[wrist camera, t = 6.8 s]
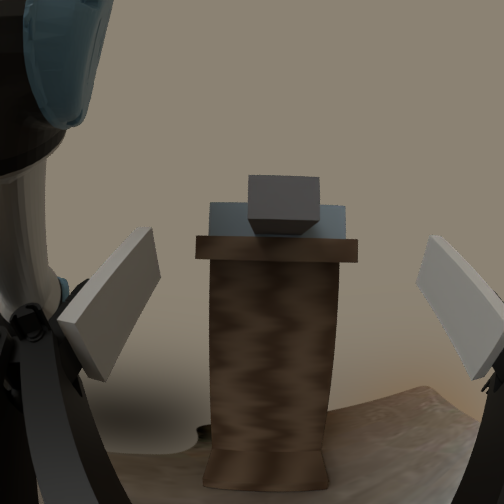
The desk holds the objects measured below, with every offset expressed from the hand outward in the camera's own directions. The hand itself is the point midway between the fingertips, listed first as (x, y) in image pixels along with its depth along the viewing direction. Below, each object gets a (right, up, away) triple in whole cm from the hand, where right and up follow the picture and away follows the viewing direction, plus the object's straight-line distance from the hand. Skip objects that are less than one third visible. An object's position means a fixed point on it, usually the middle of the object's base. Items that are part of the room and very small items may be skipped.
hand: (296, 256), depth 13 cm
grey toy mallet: (0, +1, +11) cm, 11 cm away
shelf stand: (0, -27, +15) cm, 31 cm away
